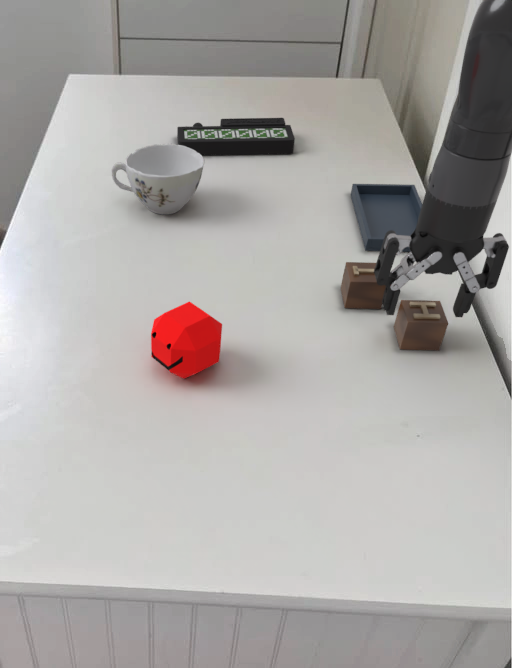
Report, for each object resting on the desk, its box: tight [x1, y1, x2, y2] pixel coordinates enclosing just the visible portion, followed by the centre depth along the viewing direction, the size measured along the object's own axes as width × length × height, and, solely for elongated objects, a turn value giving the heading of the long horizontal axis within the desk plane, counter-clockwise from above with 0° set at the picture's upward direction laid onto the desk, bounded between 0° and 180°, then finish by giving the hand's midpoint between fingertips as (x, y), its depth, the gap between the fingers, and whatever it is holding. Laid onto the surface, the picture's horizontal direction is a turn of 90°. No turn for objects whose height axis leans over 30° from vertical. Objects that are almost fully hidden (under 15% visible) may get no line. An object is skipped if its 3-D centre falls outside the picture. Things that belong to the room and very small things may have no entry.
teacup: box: [111, 143, 205, 216], centre depth 117 cm, size 15×12×8 cm
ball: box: [150, 301, 223, 380], centre depth 88 cm, size 8×8×8 cm
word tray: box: [350, 183, 423, 253], centre depth 114 cm, size 10×18×2 cm, turn 176°
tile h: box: [393, 299, 449, 352], centre depth 93 cm, size 5×5×4 cm
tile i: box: [340, 261, 386, 310], centre depth 99 cm, size 5×5×4 cm
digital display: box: [176, 117, 296, 157], centre depth 135 cm, size 21×3×10 cm
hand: (423, 312), depth 91 cm, fingers open, 8 cm apart
